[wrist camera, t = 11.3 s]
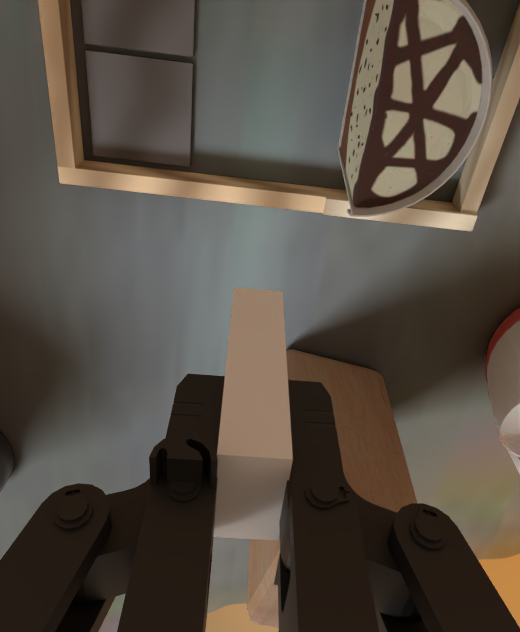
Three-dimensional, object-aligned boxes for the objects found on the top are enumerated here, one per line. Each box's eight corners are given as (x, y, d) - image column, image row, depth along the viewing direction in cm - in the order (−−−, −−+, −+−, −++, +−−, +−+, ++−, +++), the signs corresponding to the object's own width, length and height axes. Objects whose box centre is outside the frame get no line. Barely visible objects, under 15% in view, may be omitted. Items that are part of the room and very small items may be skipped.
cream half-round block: (416, 179, 37) (457, 235, 28) (333, 170, 36) (350, 225, 28) (471, -23, 30) (546, -26, 21) (369, -34, 30) (406, -42, 21)
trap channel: (69, 174, 37) (58, 184, 35) (36, -136, 27) (18, -145, 25) (462, 219, 38) (471, 231, 36) (562, -64, 28) (583, -67, 27)
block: (283, 342, 45) (288, 549, 29) (385, 368, 47) (445, 580, 30) (253, 417, 51) (242, 628, 34) (344, 438, 52) (377, 651, 35)
